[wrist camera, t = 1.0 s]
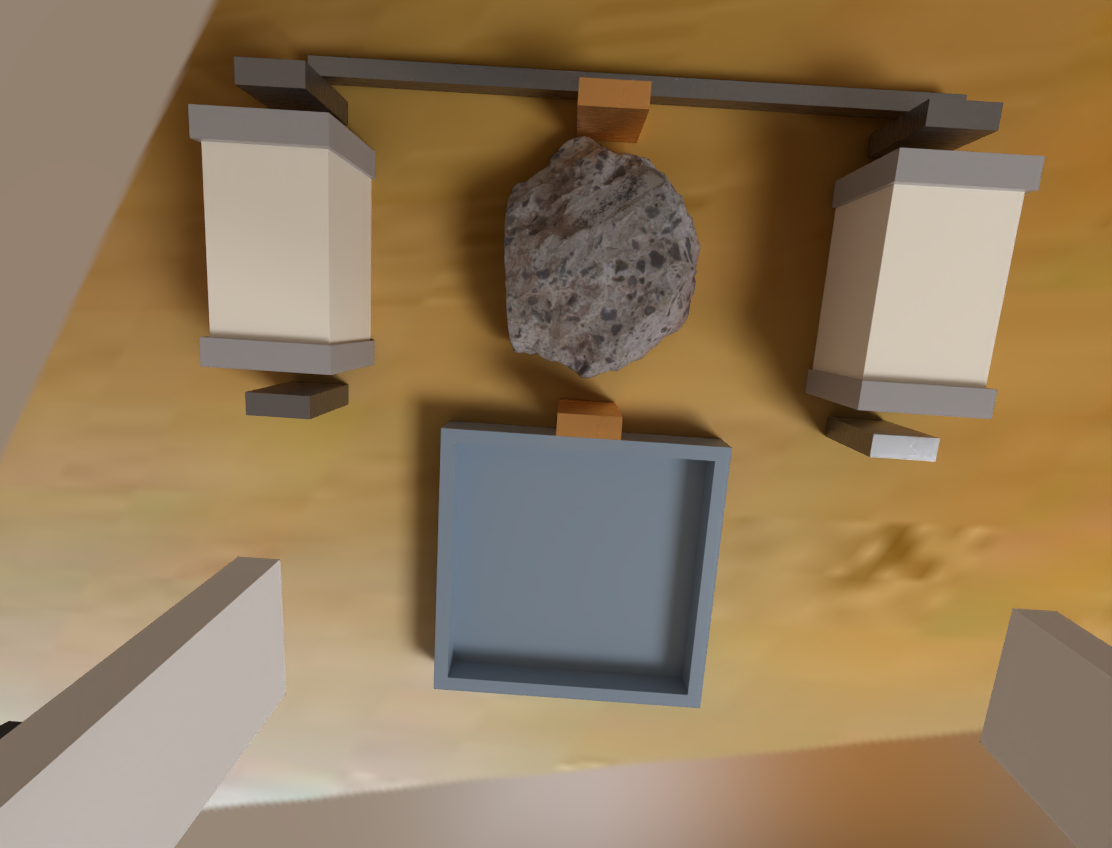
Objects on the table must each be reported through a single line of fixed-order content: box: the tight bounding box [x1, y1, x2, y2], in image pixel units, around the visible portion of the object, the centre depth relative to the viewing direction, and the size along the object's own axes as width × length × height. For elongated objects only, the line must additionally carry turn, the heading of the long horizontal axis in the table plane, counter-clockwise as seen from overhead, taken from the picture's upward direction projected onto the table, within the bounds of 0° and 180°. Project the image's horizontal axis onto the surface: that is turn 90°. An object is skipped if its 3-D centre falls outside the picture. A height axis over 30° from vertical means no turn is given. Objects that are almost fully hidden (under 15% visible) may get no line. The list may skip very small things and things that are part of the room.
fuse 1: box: [188, 104, 376, 375], centre depth 26 cm, size 10×5×5 cm, turn 176°
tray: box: [434, 421, 732, 708], centre depth 30 cm, size 14×14×2 cm
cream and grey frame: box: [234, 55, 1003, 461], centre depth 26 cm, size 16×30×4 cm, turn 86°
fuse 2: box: [805, 148, 1045, 419], centre depth 25 cm, size 10×5×5 cm, turn 176°
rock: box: [504, 136, 700, 378], centre depth 26 cm, size 9×11×4 cm
